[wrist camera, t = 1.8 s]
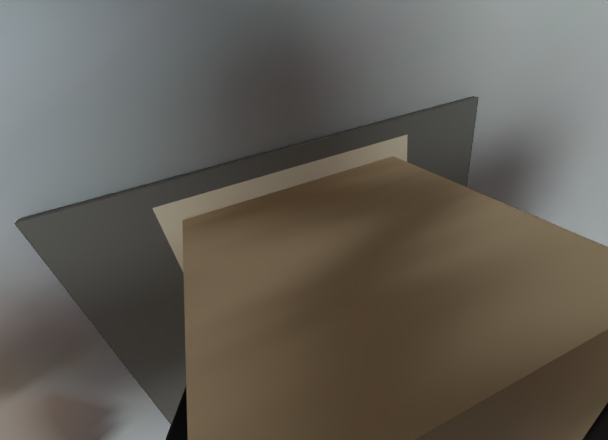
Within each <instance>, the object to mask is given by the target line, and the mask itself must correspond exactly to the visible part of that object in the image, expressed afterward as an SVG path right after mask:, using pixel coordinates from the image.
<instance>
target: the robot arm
mask: <svg viewBox="0 0 608 440" xmlns="http://www.w3.org/2000/svg"><path fill="white" fill-rule="evenodd" d="M166 440H188V433H187V392H186V386H185V389H184V392H183V394H182V397H181V400H180V402H179V405H178V408H177V410H176V413H175V416H174V418H173V421H172V424H171V426H170V429H169V432H168V434H167V437H166ZM582 440H608V403H607V404H606V406H605V407H604V409H603V410H602V412H601V413H600V414H599V416H598V417H597V419H596V420H595V422H594V423H593V425H592V426H591V428H590V429H589V431H588V432H587V433H586V435H585V436H584V438H583V439H582Z"/></svg>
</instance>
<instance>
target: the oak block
mask: <svg viewBox="0 0 608 440" xmlns="http://www.w3.org/2000/svg"><path fill="white" fill-rule="evenodd" d="M182 230H183V271H184V311H185V352H186V392H187V433H188V440H582V439H583V438H584V436H585V435H586V433H587V432H588V431H589V429H590V428H591V426H592V425H593V423H594V422H595V420H596V419H597V417H598V416H599V414H600V413H601V412H602V410H603V409H604V407H605V406H606V404H607V403H608V247H607V246H604V245H602V244H599V243H597V242H595V241H592V240H590V239H588V238H585V237H583V236H581V235H578V234H576V233H573V232H571V231H569V230H566V229H564V228H562V227H559V226H557V225H555V224H552V223H550V222H548V221H545V220H543V219H540V218H538V217H536V216H533V215H531V214H529V213H526V212H524V211H522V210H519V209H517V208H514V207H512V206H510V205H507V204H505V203H503V202H500V201H498V200H496V199H493V198H491V197H488V196H486V195H484V194H481V193H479V192H477V191H474V190H472V189H470V188H467V187H465V186H463V185H460V184H458V183H455V182H453V181H451V180H448V179H446V178H444V177H441V176H439V175H437V174H434V173H432V172H429V171H427V170H425V169H422V168H420V167H418V166H415V165H413V164H411V163H408V162H406V161H403V160H401V159H399V158H396V157H394V156H392V157H389V158H385V159H382V160H379V161H375V162H372V163H369V164H366V165H362V166H359V167H356V168H352V169H349V170H346V171H343V172H339V173H336V174H333V175H329V176H326V177H323V178H320V179H316V180H313V181H310V182H306V183H303V184H300V185H297V186H293V187H290V188H287V189H283V190H280V191H277V192H274V193H270V194H267V195H264V196H260V197H257V198H254V199H251V200H247V201H244V202H241V203H237V204H234V205H231V206H228V207H224V208H221V209H218V210H214V211H211V212H208V213H205V214H201V215H198V216H195V217H191V218H188V219H185V220H182Z"/></svg>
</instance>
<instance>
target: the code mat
mask: <svg viewBox="0 0 608 440" xmlns="http://www.w3.org/2000/svg"><path fill="white" fill-rule="evenodd" d="M477 105H478V97H470V98H466V99H462V100H459V101H455V102H451V103H448V104H444V105H440V106H436V107H433V108H429V109H425V110H422V111H418V112H414V113H411V114H407V115H403V116H399V117H396V118H392V119H388V120H385V121H381V122H377V123H374V124H370V125H366V126H362V127H359V128H355V129H351V130H348V131H344V132H340V133H336V134H333V135H329V136H325V137H322V138H318V139H314V140H311V141H307V142H303V143H299V144H296V145H292V146H288V147H285V148H281V149H277V150H274V151H270V152H266V153H262V154H259V155H255V156H251V157H248V158H244V159H240V160H237V161H233V162H229V163H225V164H222V165H218V166H214V167H211V168H207V169H203V170H199V171H196V172H192V173H188V174H185V175H181V176H177V177H174V178H170V179H166V180H162V181H159V182H155V183H151V184H148V185H144V186H140V187H137V188H133V189H129V190H125V191H122V192H118V193H114V194H111V195H107V196H103V197H99V198H96V199H92V200H88V201H85V202H81V203H77V204H74V205H70V206H66V207H62V208H59V209H55V210H51V211H48V212H44V213H40V214H37V215H33V216H29V217H25V218H22V219H19V220H18V221H17V222H16V223H14V224H15V225H16V226H17V227H18V229H19V230H20V231H21V233H22V234H23V235H24V236H25V238H26V239H27V240H28V242H29V243H30V244H31V245H32V247H33V248H34V249H35V251H36V252H37V253H38V254H39V256H40V257H41V258H42V260H43V261H44V262H45V263H46V265H47V266H48V267H49V268H50V270H51V271H52V272H53V274H54V275H55V276H56V277H57V279H58V280H59V281H60V283H61V284H62V285H63V286H64V288H65V289H66V290H67V292H68V293H69V294H70V295H71V297H72V298H73V299H74V301H75V302H76V303H77V304H78V306H79V307H80V308H81V310H82V311H83V312H84V313H85V315H86V316H87V317H88V319H89V320H90V321H91V322H92V324H93V325H94V326H95V328H96V329H97V330H98V331H99V333H100V334H101V335H102V337H103V338H104V339H105V340H106V342H107V343H108V344H109V346H110V347H111V348H112V349H113V351H114V352H115V353H116V355H117V356H118V357H119V358H120V360H121V361H122V362H123V364H124V365H125V366H126V367H127V369H128V370H129V371H130V373H131V374H132V375H133V376H134V378H135V379H136V380H137V381H138V383H139V384H140V385H141V387H142V388H143V389H144V390H145V392H146V393H147V394H148V396H149V397H150V398H151V399H152V401H153V402H154V403H155V405H156V406H157V407H158V408H159V410H160V411H161V412H162V414H163V415H164V416H165V417H166V419H167V420H168V421H169V423H170V424H172V421H173V418H174V416H175V413H176V410H177V408H178V405H179V402H180V400H181V397H182V394H183V392H184V389H185V386H186V352H185V311H184V271H183V230H182V220H185V219H188V218H191V217H195V216H198V215H201V214H205V213H208V212H211V211H214V210H218V209H221V208H224V207H228V206H231V205H234V204H237V203H241V202H244V201H247V200H251V199H254V198H257V197H260V196H264V195H267V194H270V193H274V192H277V191H280V190H283V189H287V188H290V187H293V186H297V185H300V184H303V183H306V182H310V181H313V180H316V179H320V178H323V177H326V176H329V175H333V174H336V173H339V172H343V171H346V170H349V169H352V168H356V167H359V166H362V165H366V164H369V163H372V162H375V161H379V160H382V159H385V158H389V157H392V156H394V157H396V158H399V159H401V160H403V161H406V162H408V163H411V164H413V165H415V166H418V167H420V168H422V169H425V170H427V171H429V172H432V173H434V174H437V175H439V176H441V177H444V178H446V179H448V180H451V181H453V182H455V183H458V184H460V185H463V186H465V187H466V186H467V179H468V172H469V164H470V157H471V149H472V142H473V134H474V127H475V120H476V112H477Z"/></svg>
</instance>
